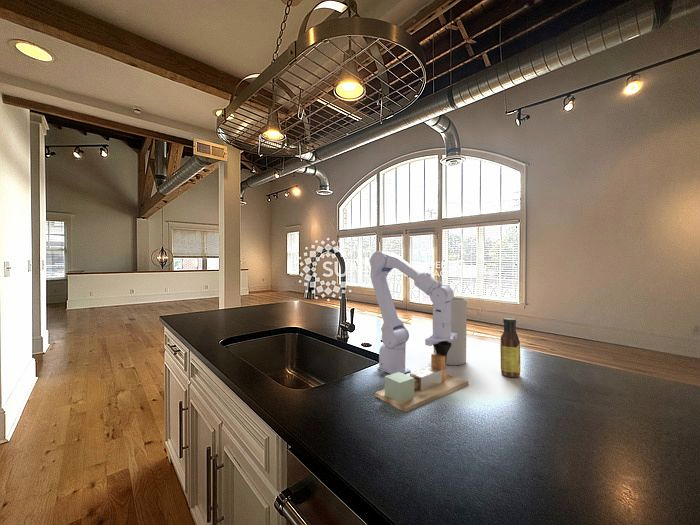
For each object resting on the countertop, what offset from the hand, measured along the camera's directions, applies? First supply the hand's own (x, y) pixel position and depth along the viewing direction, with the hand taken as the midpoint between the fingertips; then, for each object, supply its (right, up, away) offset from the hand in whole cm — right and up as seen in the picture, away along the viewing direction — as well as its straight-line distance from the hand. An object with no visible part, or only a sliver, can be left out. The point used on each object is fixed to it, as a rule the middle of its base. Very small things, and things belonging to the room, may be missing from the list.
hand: (441, 364), depth 101 cm
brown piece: (-8, -5, -6) cm, 12 cm away
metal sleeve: (-6, -5, -5) cm, 9 cm away
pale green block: (-16, -5, -12) cm, 21 cm away
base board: (-7, -6, -5) cm, 11 cm away
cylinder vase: (+10, -7, +23) cm, 26 cm away
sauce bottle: (+27, -7, +8) cm, 29 cm away
